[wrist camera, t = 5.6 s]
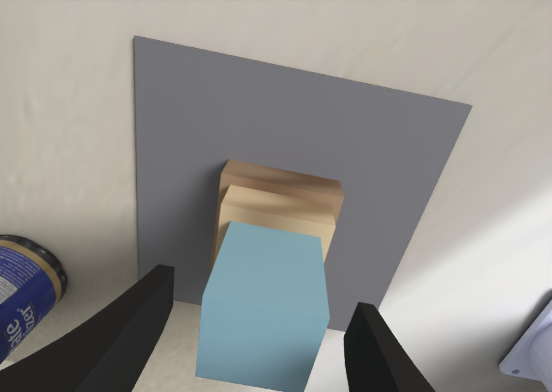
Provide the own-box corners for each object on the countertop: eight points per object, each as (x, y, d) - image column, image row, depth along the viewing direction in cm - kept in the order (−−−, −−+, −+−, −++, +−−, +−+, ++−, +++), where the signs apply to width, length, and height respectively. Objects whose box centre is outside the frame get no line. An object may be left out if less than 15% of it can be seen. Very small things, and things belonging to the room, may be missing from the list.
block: (320, 237, 14) (329, 318, 10) (301, 303, 16) (302, 395, 11) (230, 220, 14) (202, 296, 10) (222, 288, 15) (195, 376, 11)
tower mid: (331, 204, 15) (335, 226, 13) (307, 281, 17) (309, 309, 16) (230, 184, 15) (221, 204, 13) (219, 265, 17) (210, 290, 16)
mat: (469, 104, 15) (472, 105, 15) (365, 331, 22) (366, 335, 22) (137, 36, 15) (134, 35, 14) (141, 290, 22) (139, 293, 21)
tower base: (339, 180, 17) (344, 197, 15) (313, 267, 19) (314, 289, 18) (229, 158, 17) (221, 173, 15) (218, 248, 19) (209, 270, 18)
